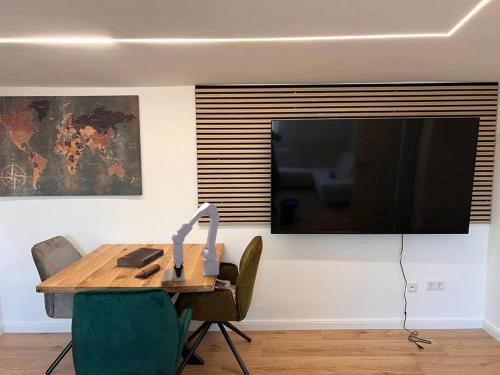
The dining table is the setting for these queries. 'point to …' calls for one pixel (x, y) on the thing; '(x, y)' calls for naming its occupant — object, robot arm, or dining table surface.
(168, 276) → the tan rectangular bar
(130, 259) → the hardback book
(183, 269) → the block
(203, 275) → the robot arm
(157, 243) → the dining table surface
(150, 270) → the sunglasses case
